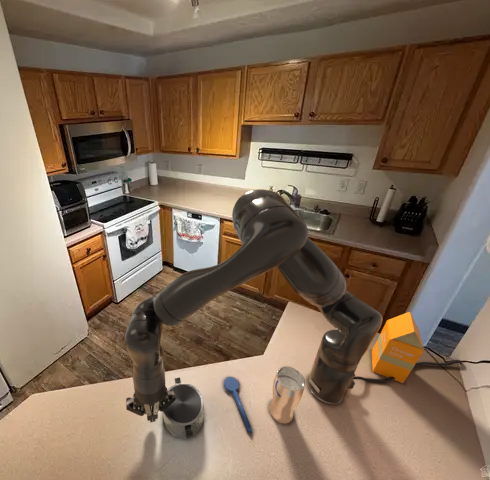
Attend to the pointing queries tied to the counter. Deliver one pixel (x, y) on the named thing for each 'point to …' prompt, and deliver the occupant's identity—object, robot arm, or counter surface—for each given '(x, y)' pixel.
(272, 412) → the beer glass
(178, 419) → the steel pot
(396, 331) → the orange juice
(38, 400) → the counter surface
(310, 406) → the counter surface
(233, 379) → the blue spoon
